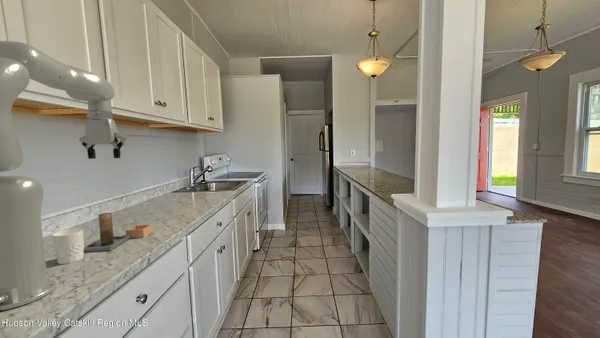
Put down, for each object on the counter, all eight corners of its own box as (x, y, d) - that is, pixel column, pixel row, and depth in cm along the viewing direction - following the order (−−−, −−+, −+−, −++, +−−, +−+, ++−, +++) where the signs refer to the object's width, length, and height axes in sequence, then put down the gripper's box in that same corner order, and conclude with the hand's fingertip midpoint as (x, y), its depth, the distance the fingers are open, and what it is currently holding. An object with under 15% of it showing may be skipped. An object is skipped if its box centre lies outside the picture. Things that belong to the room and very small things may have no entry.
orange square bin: (143, 238, 105) (143, 229, 105) (126, 239, 104) (125, 230, 104) (152, 233, 112) (151, 224, 112) (135, 233, 111) (135, 225, 111)
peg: (109, 245, 95) (107, 215, 94) (98, 246, 95) (95, 215, 94) (116, 241, 99) (114, 212, 98) (105, 242, 99) (103, 212, 98)
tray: (111, 252, 92) (110, 246, 92) (82, 253, 91) (81, 248, 91) (130, 240, 104) (129, 235, 103) (104, 241, 103) (104, 236, 102)
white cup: (67, 266, 81) (64, 236, 80) (48, 264, 83) (45, 235, 82) (91, 255, 89) (89, 228, 88) (74, 254, 90) (71, 227, 90)
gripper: (70, 115, 96) (74, 159, 98) (117, 115, 98) (121, 158, 100) (85, 117, 104) (89, 158, 105) (128, 117, 105) (131, 157, 107)
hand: (104, 158), depth 102 cm, fingers open, 9 cm apart
